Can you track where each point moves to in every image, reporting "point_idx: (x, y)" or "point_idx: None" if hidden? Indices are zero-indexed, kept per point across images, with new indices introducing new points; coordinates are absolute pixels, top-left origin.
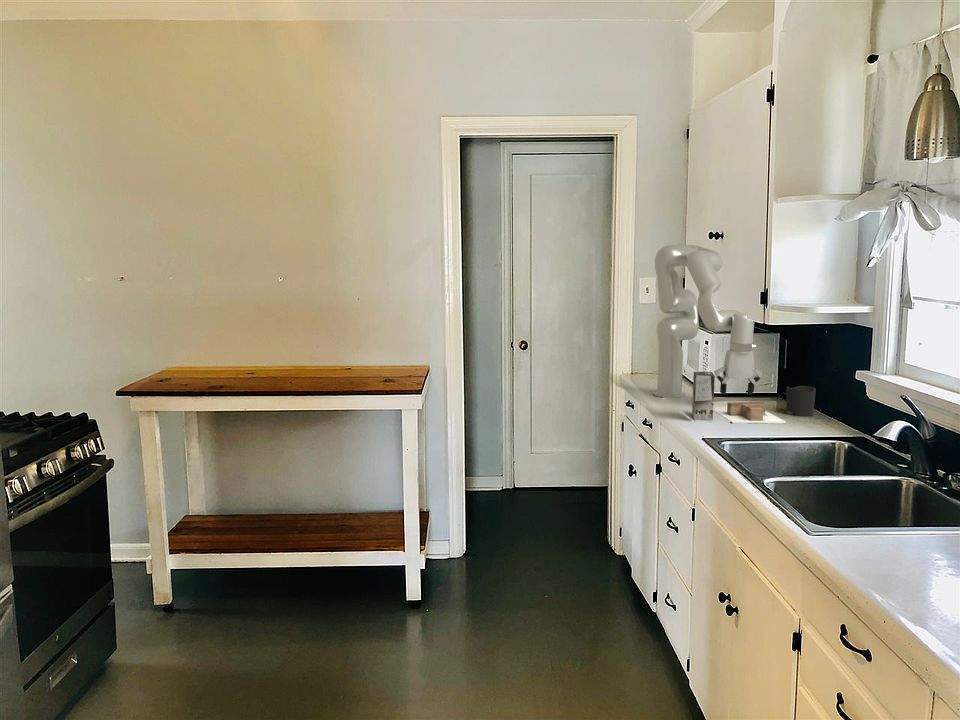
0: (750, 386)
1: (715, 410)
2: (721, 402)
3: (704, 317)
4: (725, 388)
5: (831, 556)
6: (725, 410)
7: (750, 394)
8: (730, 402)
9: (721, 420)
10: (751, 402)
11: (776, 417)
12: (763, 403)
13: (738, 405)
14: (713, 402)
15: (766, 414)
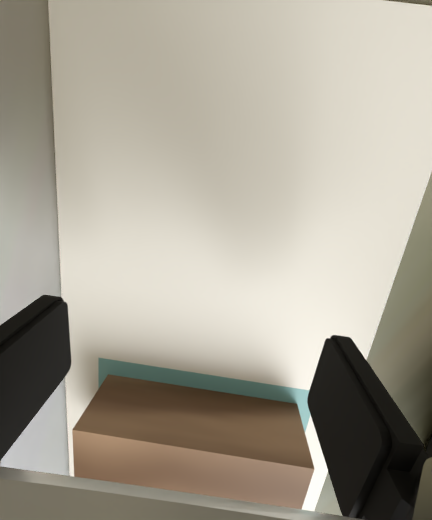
0: (340, 475)
1: (66, 301)
2: (214, 22)
3: None
4: (20, 421)
5: None
6: (125, 312)
7: (309, 402)
8: (88, 442)
9: (48, 451)
10: (234, 468)
11: (312, 491)
12: (297, 506)
13: None
14: (143, 13)
15: (306, 435)
